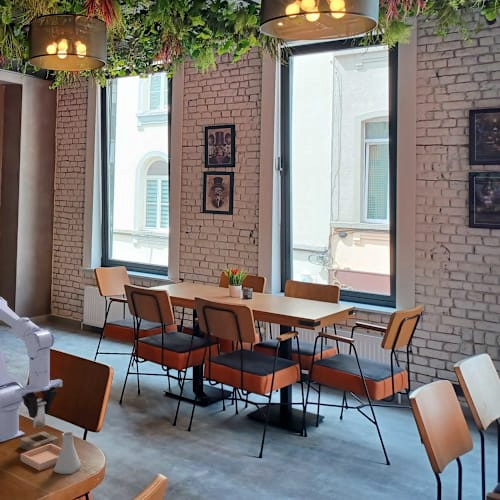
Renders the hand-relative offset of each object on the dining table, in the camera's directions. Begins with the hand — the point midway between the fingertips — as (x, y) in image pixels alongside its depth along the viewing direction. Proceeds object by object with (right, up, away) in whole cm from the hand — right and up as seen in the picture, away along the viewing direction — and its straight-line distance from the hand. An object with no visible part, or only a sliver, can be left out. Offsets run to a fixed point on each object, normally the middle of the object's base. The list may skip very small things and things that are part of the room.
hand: (39, 415), depth 170 cm
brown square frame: (0, -10, +1) cm, 10 cm away
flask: (+13, -11, -13) cm, 22 cm away
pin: (0, -3, 0) cm, 3 cm away
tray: (+5, -11, -8) cm, 14 cm away
